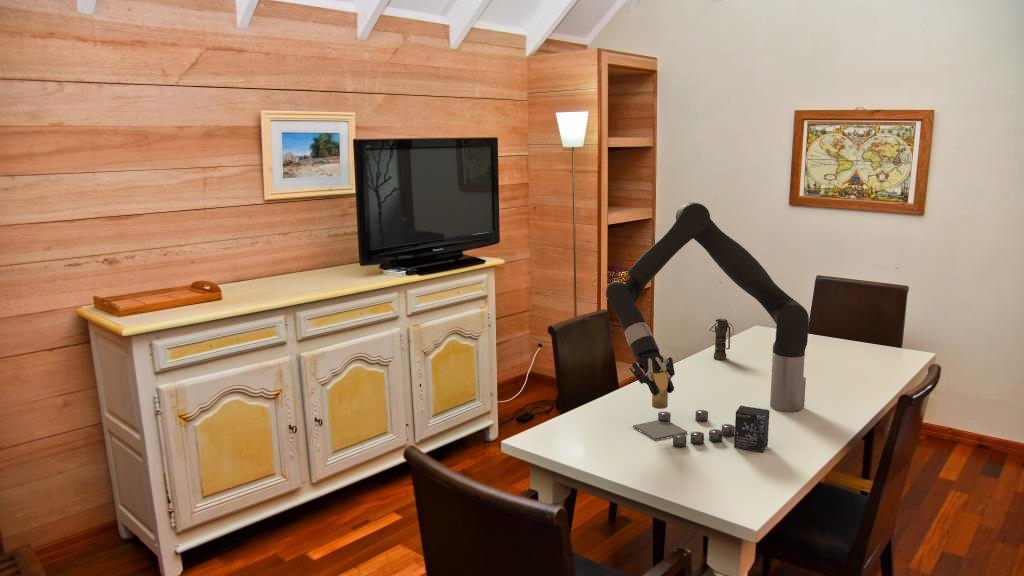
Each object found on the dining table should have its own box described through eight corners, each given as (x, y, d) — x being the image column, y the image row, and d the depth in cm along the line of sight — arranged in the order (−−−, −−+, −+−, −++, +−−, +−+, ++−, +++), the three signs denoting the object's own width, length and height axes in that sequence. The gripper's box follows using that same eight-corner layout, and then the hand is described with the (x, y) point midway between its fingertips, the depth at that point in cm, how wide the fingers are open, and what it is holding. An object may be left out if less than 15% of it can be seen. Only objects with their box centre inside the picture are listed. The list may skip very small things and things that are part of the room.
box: (733, 448, 210) (735, 411, 208) (738, 440, 215) (740, 404, 213) (763, 453, 207) (765, 416, 204) (768, 446, 211) (769, 409, 209)
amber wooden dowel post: (661, 402, 225) (662, 369, 223) (670, 407, 221) (671, 373, 219) (648, 404, 223) (649, 371, 221) (657, 409, 219) (658, 375, 217)
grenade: (707, 359, 290) (708, 320, 287) (714, 355, 295) (715, 317, 292) (729, 363, 285) (730, 323, 282) (736, 359, 289) (737, 320, 286)
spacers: (694, 412, 237) (694, 404, 236) (742, 437, 217) (742, 429, 217) (637, 424, 229) (637, 416, 228) (681, 451, 209) (681, 442, 209)
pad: (664, 420, 231) (664, 418, 231) (687, 433, 221) (687, 431, 221) (633, 427, 227) (633, 425, 226) (654, 440, 217) (654, 438, 217)
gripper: (625, 337, 222) (648, 390, 214) (667, 331, 228) (691, 383, 220) (615, 351, 228) (637, 403, 220) (656, 344, 234) (679, 395, 225)
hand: (664, 392), depth 220 cm, fingers closed on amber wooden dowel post, 4 cm apart
